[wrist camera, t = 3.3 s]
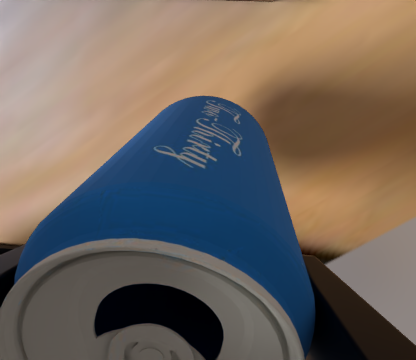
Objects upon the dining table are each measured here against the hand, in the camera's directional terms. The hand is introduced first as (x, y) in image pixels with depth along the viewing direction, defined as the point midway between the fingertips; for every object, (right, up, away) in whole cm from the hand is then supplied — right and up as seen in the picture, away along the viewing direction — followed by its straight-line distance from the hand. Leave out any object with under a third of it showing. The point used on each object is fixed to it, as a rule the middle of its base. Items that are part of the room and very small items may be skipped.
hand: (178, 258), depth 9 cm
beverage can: (+1, +4, +8) cm, 9 cm away
